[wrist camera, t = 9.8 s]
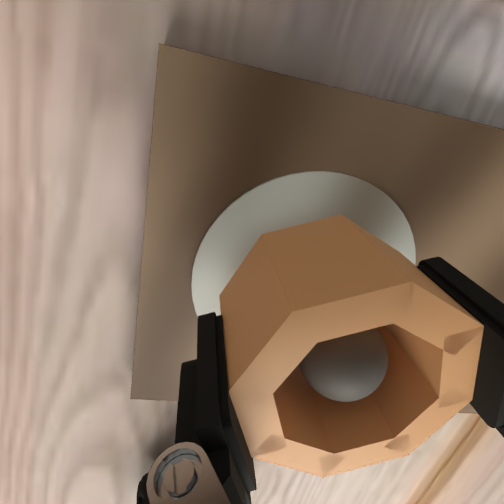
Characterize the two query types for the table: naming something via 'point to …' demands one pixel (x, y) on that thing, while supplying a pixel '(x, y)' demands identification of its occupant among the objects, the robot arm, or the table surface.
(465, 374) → the collar
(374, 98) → the board
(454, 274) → the robot arm
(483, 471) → the table surface
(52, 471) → the table surface
